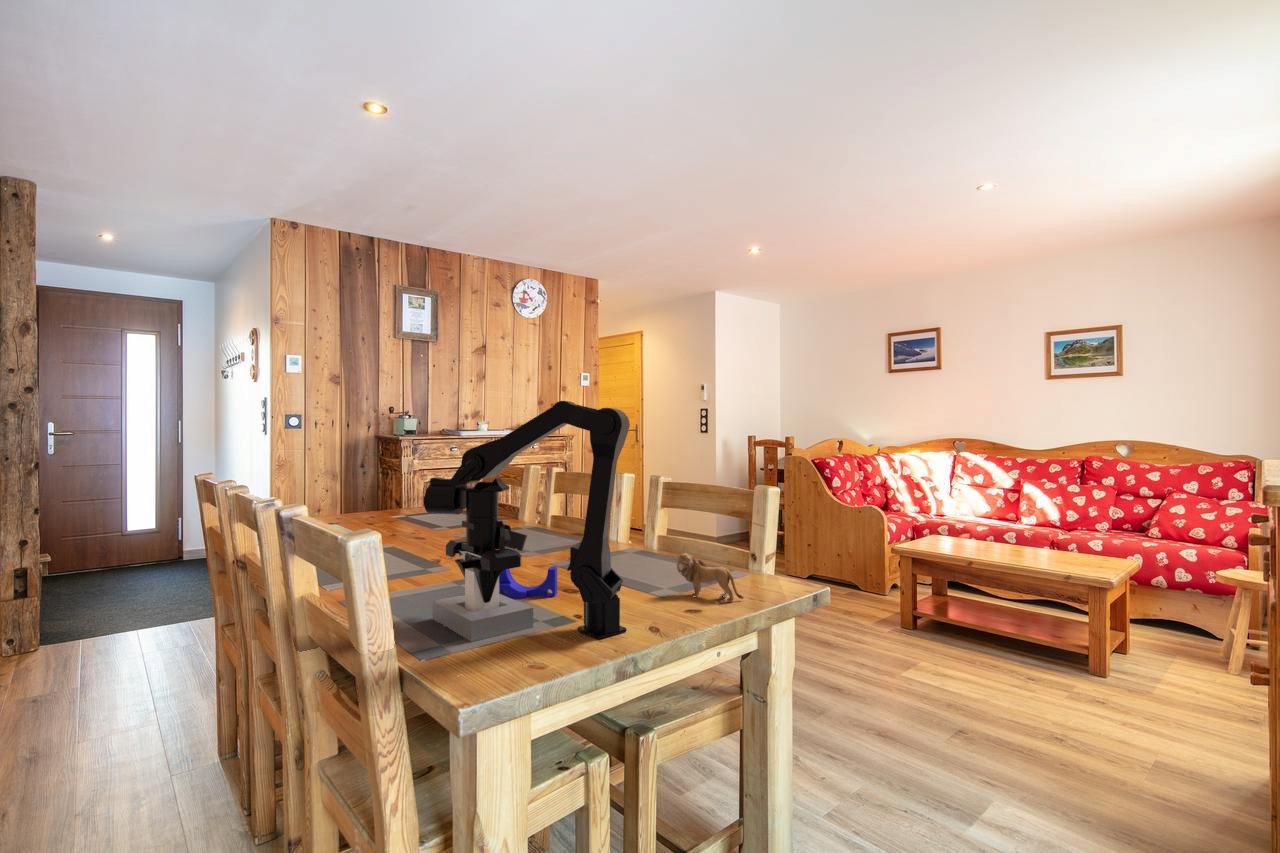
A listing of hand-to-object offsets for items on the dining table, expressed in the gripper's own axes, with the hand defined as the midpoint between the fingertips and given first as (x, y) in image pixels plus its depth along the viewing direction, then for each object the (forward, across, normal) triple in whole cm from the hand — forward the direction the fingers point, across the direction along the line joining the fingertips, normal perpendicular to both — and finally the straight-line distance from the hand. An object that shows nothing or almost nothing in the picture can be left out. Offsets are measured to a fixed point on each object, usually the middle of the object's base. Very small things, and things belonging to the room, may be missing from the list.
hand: (482, 600), depth 117 cm
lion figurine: (+4, -15, -44) cm, 47 cm away
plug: (+3, 0, 0) cm, 3 cm away
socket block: (+4, 0, 0) cm, 4 cm away
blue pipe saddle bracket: (+5, +11, -16) cm, 20 cm away
